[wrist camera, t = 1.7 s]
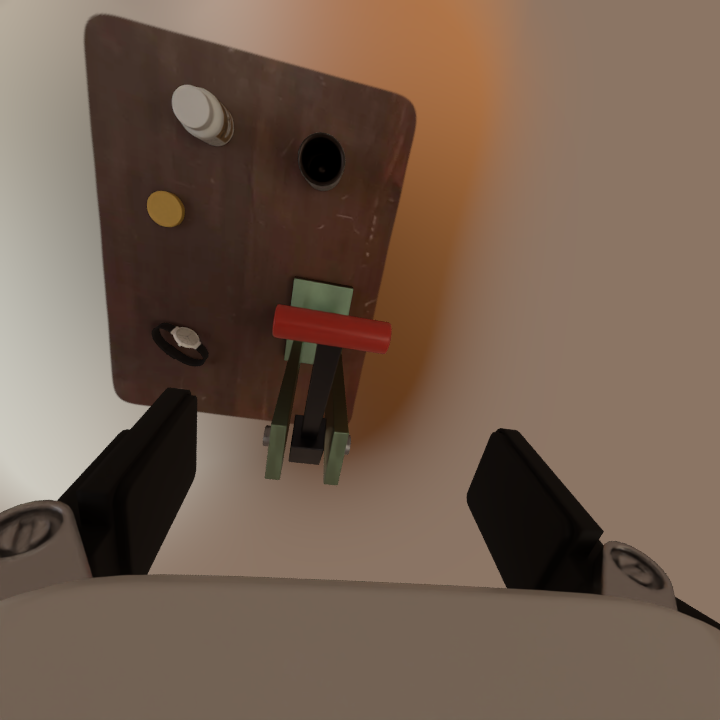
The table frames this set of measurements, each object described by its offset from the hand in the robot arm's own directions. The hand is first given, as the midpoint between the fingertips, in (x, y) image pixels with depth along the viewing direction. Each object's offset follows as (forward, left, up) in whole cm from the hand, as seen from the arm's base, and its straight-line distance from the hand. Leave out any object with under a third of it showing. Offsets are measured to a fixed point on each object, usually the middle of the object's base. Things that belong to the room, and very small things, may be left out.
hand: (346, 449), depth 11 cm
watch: (+1, -24, -40) cm, 46 cm away
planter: (-11, +4, -40) cm, 42 cm away
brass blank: (-14, -16, -40) cm, 45 cm away
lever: (+2, -2, -10) cm, 10 cm away
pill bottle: (-20, -6, -40) cm, 45 cm away
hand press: (+7, -5, -40) cm, 41 cm away
